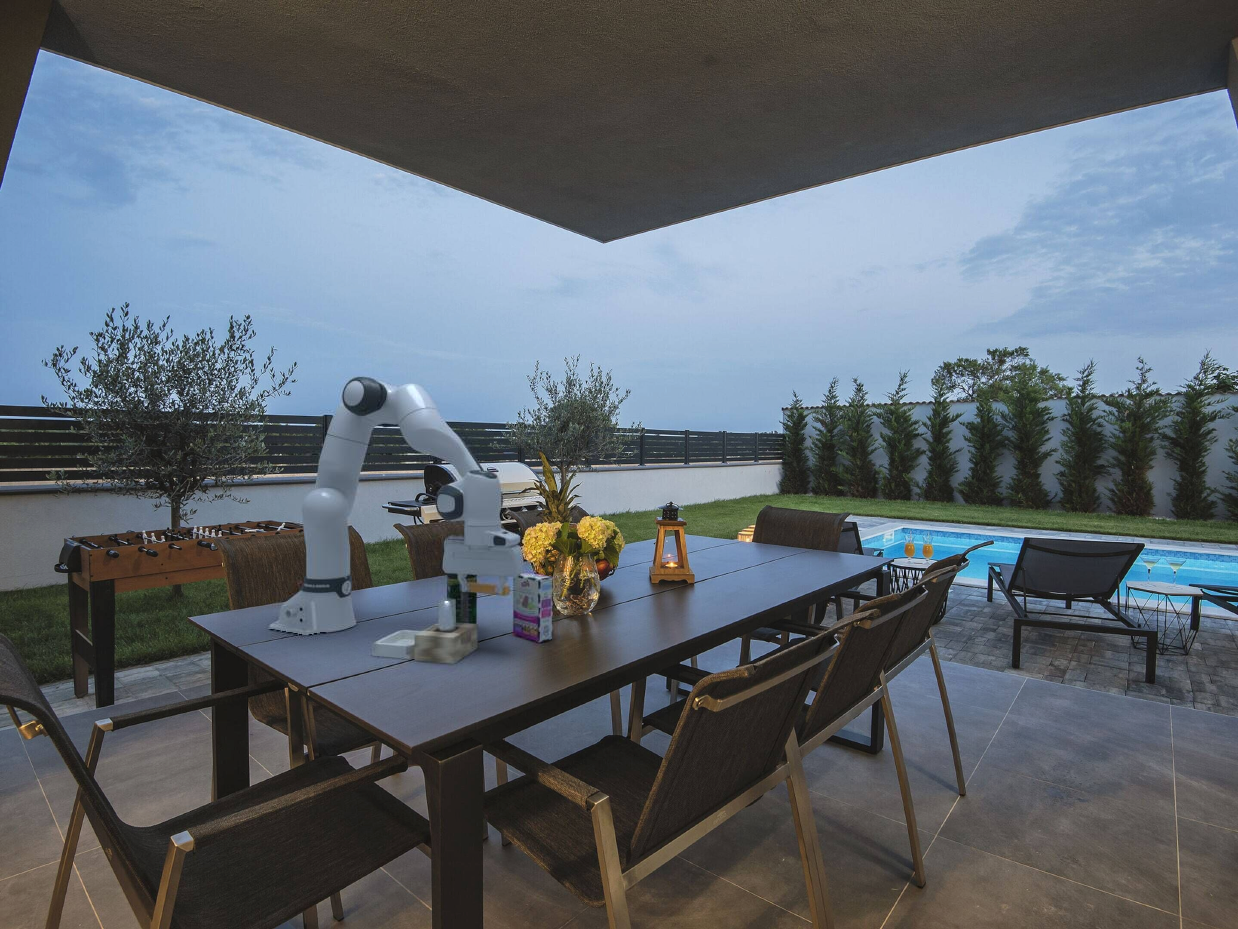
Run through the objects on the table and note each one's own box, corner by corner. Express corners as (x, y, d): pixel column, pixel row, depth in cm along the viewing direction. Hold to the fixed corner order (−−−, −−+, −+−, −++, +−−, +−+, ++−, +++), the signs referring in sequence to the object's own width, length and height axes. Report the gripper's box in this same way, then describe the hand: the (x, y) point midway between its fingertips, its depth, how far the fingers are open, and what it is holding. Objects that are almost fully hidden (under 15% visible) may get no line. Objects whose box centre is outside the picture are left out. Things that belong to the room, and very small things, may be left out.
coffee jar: (479, 634, 164) (479, 565, 164) (448, 637, 161) (448, 566, 161) (474, 625, 173) (474, 559, 173) (445, 627, 170) (445, 561, 170)
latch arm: (504, 596, 149) (504, 587, 149) (457, 590, 155) (457, 582, 155) (510, 594, 152) (510, 586, 152) (463, 589, 157) (463, 581, 157)
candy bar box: (554, 639, 159) (554, 576, 159) (539, 643, 156) (539, 579, 155) (527, 631, 167) (527, 571, 167) (512, 635, 163) (512, 573, 163)
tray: (372, 656, 146) (372, 643, 145) (401, 641, 157) (401, 629, 157) (409, 659, 143) (409, 646, 143) (436, 644, 155) (436, 632, 155)
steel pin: (435, 656, 146) (435, 601, 146) (443, 651, 150) (443, 598, 149) (450, 657, 145) (450, 602, 145) (458, 652, 149) (458, 598, 148)
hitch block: (414, 660, 142) (414, 603, 142) (450, 639, 159) (450, 588, 159) (453, 663, 140) (453, 606, 140) (486, 642, 157) (486, 590, 157)
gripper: (437, 536, 149) (437, 593, 149) (516, 539, 145) (515, 598, 145) (450, 533, 155) (450, 587, 156) (526, 536, 151) (525, 592, 151)
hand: (482, 592), depth 150 cm, fingers open, 7 cm apart
